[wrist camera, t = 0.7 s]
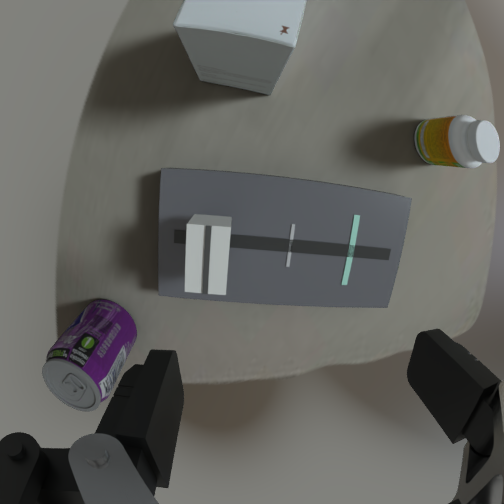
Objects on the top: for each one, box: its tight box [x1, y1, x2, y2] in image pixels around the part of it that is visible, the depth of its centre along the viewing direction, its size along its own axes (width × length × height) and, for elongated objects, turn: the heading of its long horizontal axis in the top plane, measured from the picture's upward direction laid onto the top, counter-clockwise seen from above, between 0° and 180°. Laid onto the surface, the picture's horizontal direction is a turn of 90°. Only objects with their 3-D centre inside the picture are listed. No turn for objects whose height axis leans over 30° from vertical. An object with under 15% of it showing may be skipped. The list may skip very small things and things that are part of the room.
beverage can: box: [42, 300, 137, 411], centre depth 25 cm, size 7×7×12 cm
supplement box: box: [173, 0, 307, 95], centre depth 18 cm, size 7×7×13 cm
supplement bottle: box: [414, 115, 500, 168], centre depth 22 cm, size 5×5×10 cm
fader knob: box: [185, 214, 232, 295], centre depth 23 cm, size 5×3×6 cm, turn 174°
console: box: [158, 168, 412, 308], centre depth 28 cm, size 12×24×3 cm, turn 84°
